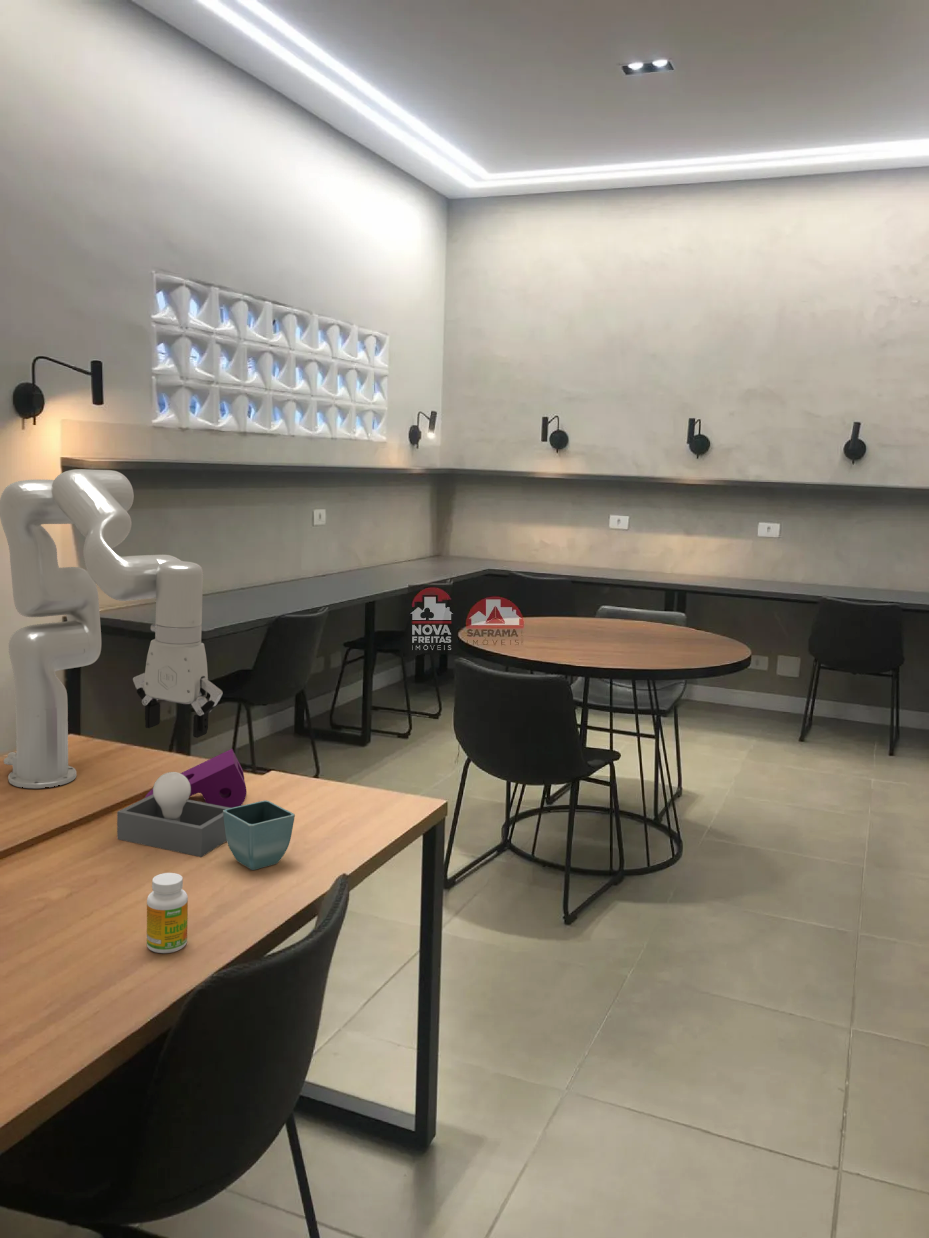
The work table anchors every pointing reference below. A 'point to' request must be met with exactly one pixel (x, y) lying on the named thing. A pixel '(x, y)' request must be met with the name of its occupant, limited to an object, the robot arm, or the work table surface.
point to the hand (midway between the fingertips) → (176, 730)
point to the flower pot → (258, 833)
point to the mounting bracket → (218, 780)
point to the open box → (173, 826)
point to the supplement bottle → (167, 914)
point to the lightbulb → (172, 794)
